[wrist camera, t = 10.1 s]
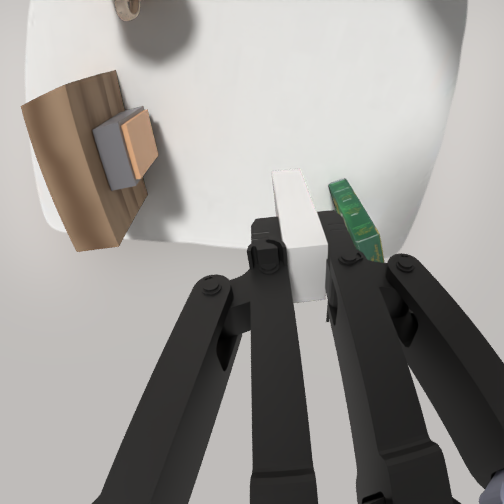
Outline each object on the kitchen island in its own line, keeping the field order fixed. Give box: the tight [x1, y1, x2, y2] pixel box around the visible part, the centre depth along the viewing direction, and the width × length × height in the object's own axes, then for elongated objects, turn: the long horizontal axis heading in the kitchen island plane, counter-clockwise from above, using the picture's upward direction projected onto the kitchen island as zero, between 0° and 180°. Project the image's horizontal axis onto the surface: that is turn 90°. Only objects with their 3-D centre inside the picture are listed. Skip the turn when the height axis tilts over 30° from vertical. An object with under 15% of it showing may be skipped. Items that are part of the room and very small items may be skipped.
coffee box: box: [329, 178, 384, 263], centre depth 36 cm, size 8×3×13 cm, turn 23°
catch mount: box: [21, 70, 148, 252], centre depth 30 cm, size 6×18×12 cm, turn 7°
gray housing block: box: [92, 106, 158, 191], centre depth 30 cm, size 9×7×8 cm
